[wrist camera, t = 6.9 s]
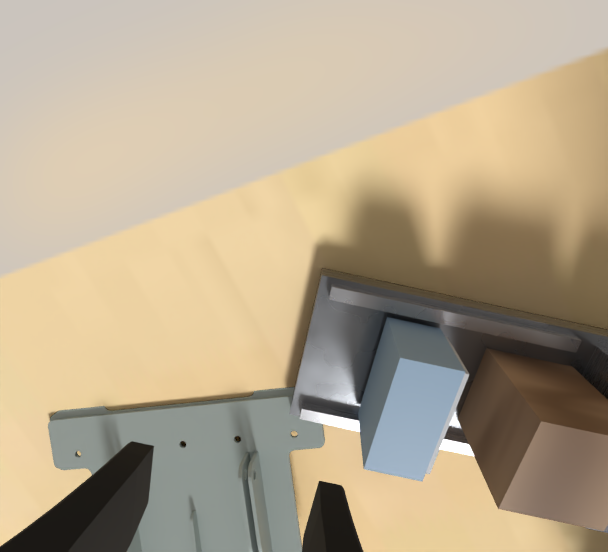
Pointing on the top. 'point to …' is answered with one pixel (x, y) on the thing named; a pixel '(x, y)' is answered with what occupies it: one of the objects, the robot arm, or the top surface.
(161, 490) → the metal bracket
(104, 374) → the top surface
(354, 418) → the vise
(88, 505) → the robot arm
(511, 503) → the block
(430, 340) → the block
